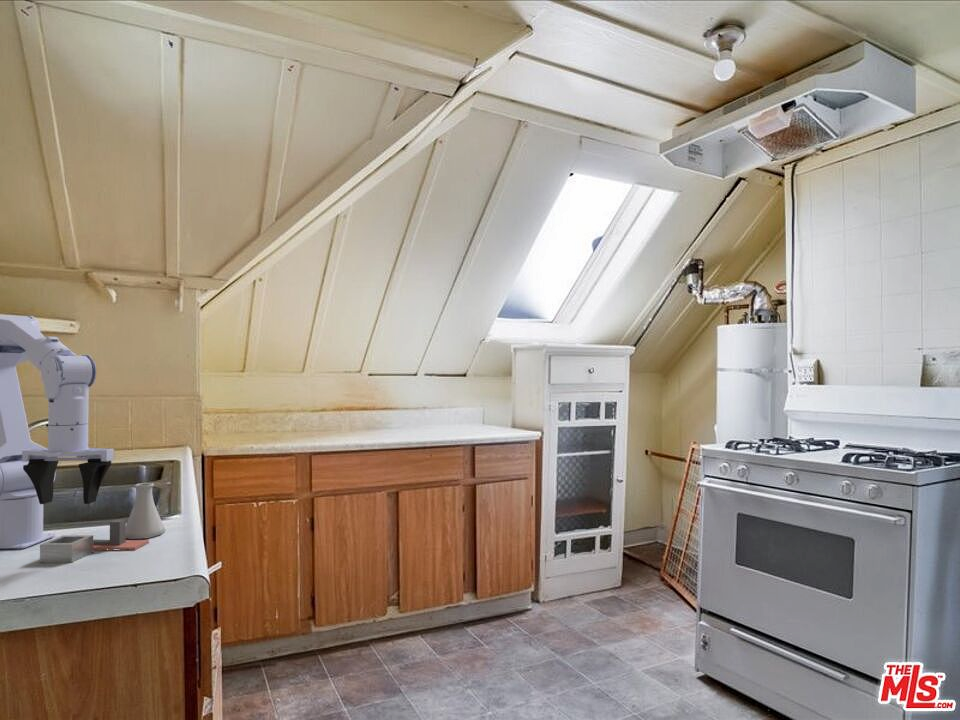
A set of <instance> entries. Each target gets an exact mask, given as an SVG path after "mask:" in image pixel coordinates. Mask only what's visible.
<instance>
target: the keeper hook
mask: <svg viewBox="0 0 960 720" xmlns="http://www.w3.org/2000/svg"><path fill="white" fill-rule="evenodd" d="M126 524H127V521H126V519H114V520H112V521H109V539H93V551H115V550H114V549H120V550H119V551H126V550H125V549H129V550H128V551H136V550H138V549H140V548H142V547H144V546H146V545H148V544H149V543H150V540H149V539H143V540H142V539H127V538H126ZM126 539H127V540H126ZM141 546H142V547H141ZM139 547H140V548H139ZM137 548H138V549H137ZM107 549H108V550H107ZM135 549H136V550H135Z"/></svg>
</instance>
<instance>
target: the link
mask: <svg viewBox="0 0 960 720" xmlns="http://www.w3.org/2000/svg"><path fill="white" fill-rule="evenodd" d="M93 540H94V535H93V534H91V535H87V534H86V535H85V534H83V535H78V534H77V535H76V534H73V535H69V534H68V535H61V536H58V537H56V538H53V539H51V540H48V541H46V542H43V543H40V544H39V563H40V562H46V563H74V562H76V561H78V560H80V559H82V558H84V557H86V556H89V555H91V554H92V552H93V553H94V550H93ZM90 553H91V554H90Z"/></svg>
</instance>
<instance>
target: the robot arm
mask: <svg viewBox="0 0 960 720" xmlns="http://www.w3.org/2000/svg"><path fill="white" fill-rule="evenodd" d="M26 361H28V362H29V363H30V364H31V365H32V366H34V367H35V368H36V369H38V371H39V372H40V373H41V374H40V375H41V381H42V384H43V387H44V395H45V399H48V417H47V418H48V420H47V421H48V423H47V428H48V429H47V430H48V431H47V440H48V441H47V447H44V446H43V445H41V444H39V443H36V442H35V441H33V440H32V439H31V433H30V429H29V425H28V419H27V415H26V410H25V405H24V401H23V395H22V390H21V386H20V381H19V376H18V371H17V365H19V364H21V363H24V362H26ZM96 378H97V365H96V362H95V360H94V359H93V358H92V356H91V355H90V354H81V355H77V354H76V353H74V352H73V351H72V350H71V348H68V347H67V346H66V345H64V344H63V343H62V342H61V341H60V338H58V337H57V336H45V335H44V334H43V333H42V332H41V327H40V322H39V320H38V319H37V318H36V317H35V316H33V315H14V314H12V315H11V314H0V549H25V548H28V547H30V546H33V545H36V544H39V543H42V542H43V541H46V540H49V539H51V538H54V537H55V533H44V505H45V504H49V503H51V502H53V498H54V482H55V480H56V475H57V467H58V464H59V461H60V462H69V461H70V462H82V463H79V464H78V469H79V471H80V474H81V479H82V485H83V486H82V487H83V488H82V490H83V491H82V494H83V495H82V498H83V503H84V505H90V504H93V503H96V502H97V498H98V493H99V489H100V487H101V485H102V481H103V479H104V477H105V476H106V474H107V472H108V470H109V469H110V467H111V466H112V461H113V460H114V455H115V453H114V452H115V451H114V448H101V447H100V448H99V447H89V417H90V416H89V415H90V414H89V411H90V410H89V406H90V404H89V403H90V402H89V400H90V399H89V397H90V396H89V395H90V388H91V387H92V386H93V385H94V384H95V382H96ZM84 461H85V462H84ZM83 462H84V463H83Z"/></svg>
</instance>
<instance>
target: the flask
mask: <svg viewBox="0 0 960 720" xmlns="http://www.w3.org/2000/svg"><path fill="white" fill-rule="evenodd" d="M154 486H155V483H154V482H142V483H137V484H135V485H134V486H133V487H134V489H135V490H136V491H135V498H134V502H133V505H132V506H133V507H132V509H131V512H130V514H129V517H128V520H127V521H126V539H127V540H142V539H149V538H153V537H157V536H160V535H162V534H163V533H164V532H166V528H165V525H164V524H163V521H162V519H161V517H160V514H159V512H158V509H157V507H156V504H155V501H154V496H153V487H154Z"/></svg>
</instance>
